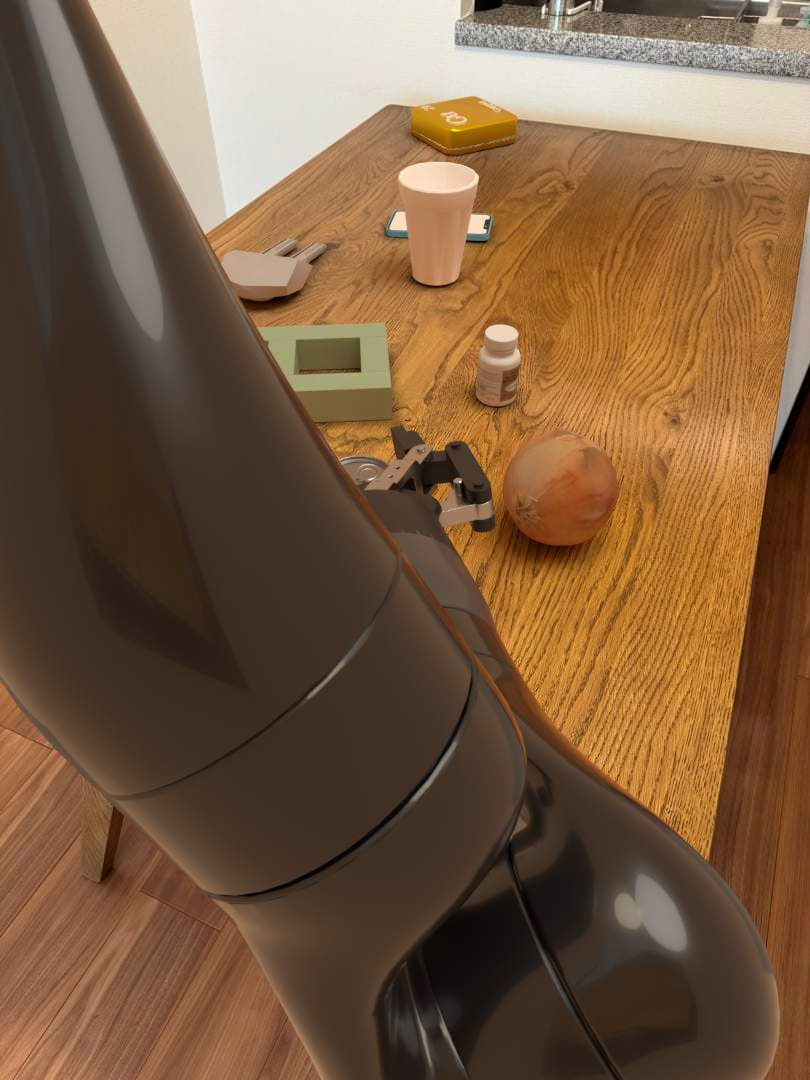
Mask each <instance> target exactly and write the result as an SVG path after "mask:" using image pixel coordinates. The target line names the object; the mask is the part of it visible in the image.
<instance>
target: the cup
mask: <svg viewBox="0 0 810 1080" xmlns="http://www.w3.org/2000/svg"><path fill="white" fill-rule="evenodd" d="M479 179H480V176H479V174H478V173H476V171H475V170H474V169H473V168H471V167H468V166H466V165H463V164H460V163H454V162H450V161H449V162H448V161H428V162H427V161H426V162H419V163H416V164H413V165H409V166H407V167H406V168H404V169H402V170H401V171H400V172H399V173H398V177H397V184H398V194H399V195H400V199H401V200H402V203H403V208H404V209H403V210H404V211H405V217H406V225H407V233H408V237H407V239H408V240H407V241H408V246H409V248H408V249H409V254H410V255H409V256H410V261H411V262H410V263H411V270H412V271H411V272H412V274H411V276H412V277H413V279H414V280H415V281H417V282H419V283H421V284H424V285H428V286H443V285H444V286H445V285H449V284H451V283H454V282H456V281H457V280H458V279H459V277H460V272H461V266H462V262H463V257H464V251H465V247H466V241H467V240H466V237H467V232H468V227H469V223H470V218H471V213H473V207H474V202H475V199H476V197H477V193H478V192H477V191H478V187H479Z"/></svg>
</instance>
